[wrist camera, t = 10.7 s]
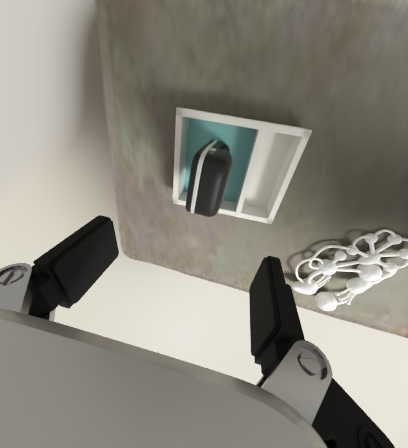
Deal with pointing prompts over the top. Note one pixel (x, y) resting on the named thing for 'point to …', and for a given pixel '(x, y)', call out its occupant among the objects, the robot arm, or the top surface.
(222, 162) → the battery charger
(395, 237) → the tangled rod sculpture
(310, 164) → the top surface
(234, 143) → the divided compartment box
